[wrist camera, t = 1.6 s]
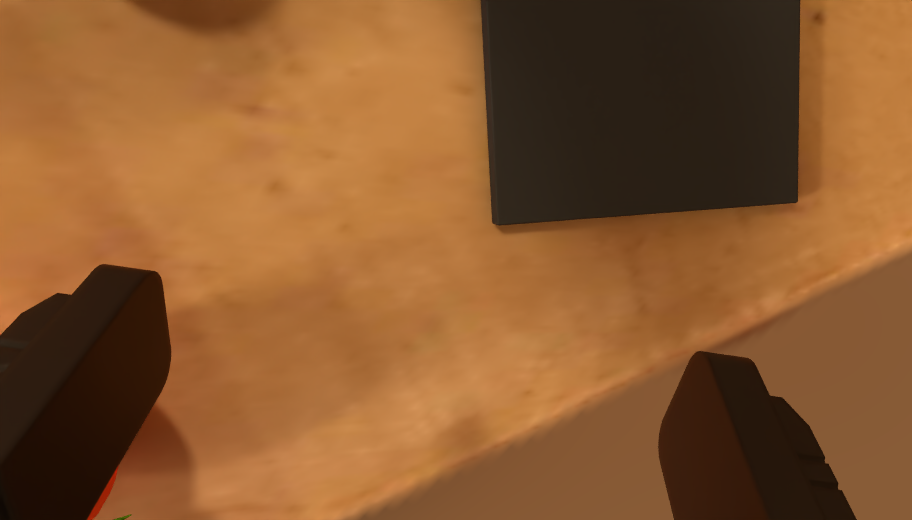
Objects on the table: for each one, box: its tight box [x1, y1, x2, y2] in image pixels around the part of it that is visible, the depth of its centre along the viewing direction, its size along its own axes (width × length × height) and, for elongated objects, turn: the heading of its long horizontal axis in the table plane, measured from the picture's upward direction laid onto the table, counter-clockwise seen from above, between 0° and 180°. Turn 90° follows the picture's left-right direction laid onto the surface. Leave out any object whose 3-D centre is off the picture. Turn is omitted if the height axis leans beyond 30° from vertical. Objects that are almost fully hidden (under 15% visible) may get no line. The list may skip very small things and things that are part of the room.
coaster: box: [481, 0, 800, 225], centre depth 29 cm, size 14×14×1 cm
